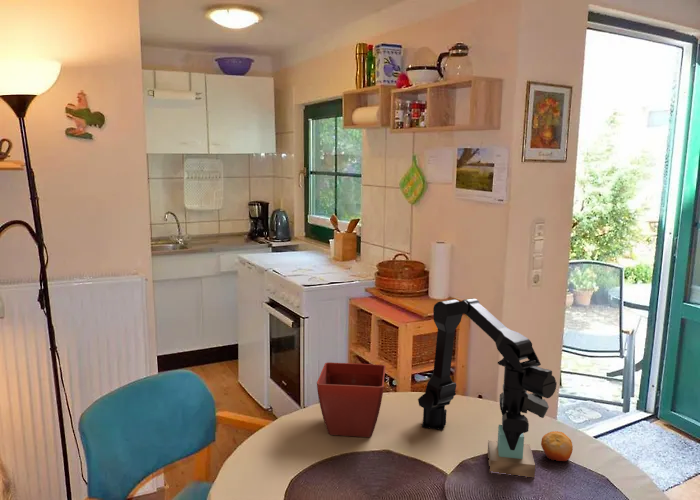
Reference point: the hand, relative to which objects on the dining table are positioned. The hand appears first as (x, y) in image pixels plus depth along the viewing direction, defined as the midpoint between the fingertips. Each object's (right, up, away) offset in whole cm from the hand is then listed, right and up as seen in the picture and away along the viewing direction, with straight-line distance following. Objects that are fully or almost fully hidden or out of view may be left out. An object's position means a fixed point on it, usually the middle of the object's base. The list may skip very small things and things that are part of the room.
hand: (511, 441), depth 148 cm
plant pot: (-42, -3, +21) cm, 47 cm away
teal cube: (0, -3, 0) cm, 3 cm away
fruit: (+14, -6, +5) cm, 16 cm away
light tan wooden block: (0, -7, +1) cm, 7 cm away
